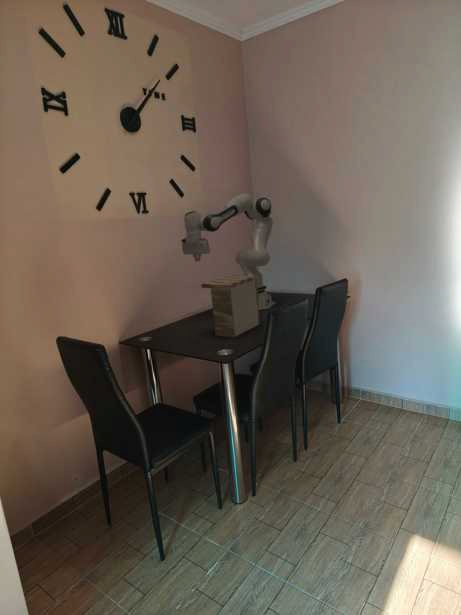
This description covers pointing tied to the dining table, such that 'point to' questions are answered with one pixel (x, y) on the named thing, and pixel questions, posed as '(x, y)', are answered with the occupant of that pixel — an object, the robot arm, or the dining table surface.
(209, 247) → the robot arm
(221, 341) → the dining table surface
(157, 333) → the dining table surface
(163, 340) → the dining table surface
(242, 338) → the dining table surface
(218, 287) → the wooden shelf
